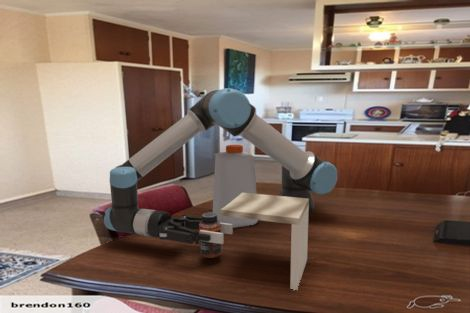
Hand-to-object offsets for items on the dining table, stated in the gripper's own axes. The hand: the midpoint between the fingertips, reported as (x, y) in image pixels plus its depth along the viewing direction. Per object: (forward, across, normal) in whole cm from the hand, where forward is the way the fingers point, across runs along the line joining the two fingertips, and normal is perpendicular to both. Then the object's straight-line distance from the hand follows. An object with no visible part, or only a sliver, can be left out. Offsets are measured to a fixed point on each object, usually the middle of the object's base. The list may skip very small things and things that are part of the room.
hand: (227, 233), depth 87 cm
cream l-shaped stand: (+10, -1, -9) cm, 14 cm away
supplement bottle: (-5, 0, -7) cm, 8 cm away
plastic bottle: (-9, -31, -9) cm, 34 cm away
